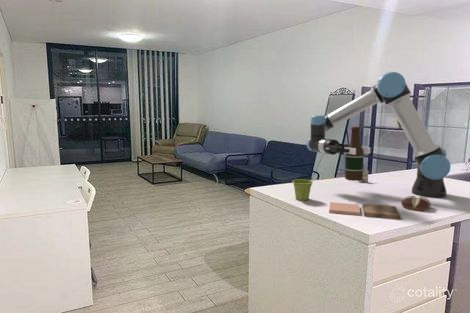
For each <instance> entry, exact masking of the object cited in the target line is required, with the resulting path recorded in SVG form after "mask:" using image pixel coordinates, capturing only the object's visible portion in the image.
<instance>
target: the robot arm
mask: <svg viewBox="0 0 470 313" xmlns="http://www.w3.org/2000/svg"><path fill="white" fill-rule="evenodd" d="M411 95H412V92H411V90H410V88H409V86H408V84H407V82H406V79H405V77H404V76H403V75H402V74H401V73H399V72H396V71H389V72H386V73H384V74H383V75H381V76H380V77H379V79H378V80H377V83H376V84H375V85H373V86H372V87H371V88H370V90H369V91H367V92H366V93H363V94H362V95H360V96H358V97H357V98H355V99H353V100H351V101H349V102H348V103H346V104H344V105H342V106H341V107H340V108H337V109H336V110H334V111H332V112H331V113H329V114H327V115H324V114H323V115H322V114H321V115H312V116H311V117H310V137H309V138H308V139H307V141H306V148H307V149H308V150H309V151H311V152H314V153H319V154H320V153H322V154H324V155H332V156H334V155H337V154H340V155H345V154H346V153H347V154H353V155H356V148H349V145H350V144H346V143H340V142H339V140H338V139H331V138H326V132H328V131H330V129H333V128H335V127H336V126H338V125H340V124H342V123H344V122H346V121H347V120H349V119H351V118H353V117H354V116H356V115H358V114H360V113H362V112H365V110H367V109H369V108H371V107H372V106H373V107H374V106H375V105H377V104H382V103H384V104H385V105H386V107H389V108H391V109H392V112H393V113H394V115H395V117H396V118H397V120H398V122H399V124H400V127H401V128H402V130H403V132H404V134H405V136H406V138H407V140H408V142H409V143H410V144H411V147H412V149H413V151H414V154H413V158H414V160H415V162H416V164H417V169H416V178H415V180H414V182H413V184H412V188H411V193H413V195H414V194H415V195H418V196H420V197H421V196H422V197H426V198H427V197H428V198H444V197H447V188H446V185H445V181H444V178H445V177H447V175H449V173H450V171H451V162H450V159H448V158H447V157H446V156H447V152H446V150H445V149H443V148H442V147H441V146H440V145H439V144H435V142H434V141H433V139H432V137H431V135H430V134H429V131H428V129H427V128H426V126H425V123H424V122H423V120H422V118H421V116H420V114H419V112H418V111H417V109H416V107H415V106H414V103H413V102H412V100H411ZM360 146H361V147H362V149H363V153H364V154H369V155H370V154H371V147H369V146H364V145H362V144H360Z"/></svg>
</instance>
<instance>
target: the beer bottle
mask: <svg viewBox="0 0 470 313" xmlns="http://www.w3.org/2000/svg"><path fill="white" fill-rule="evenodd" d="M350 130H351V131H350V132H351V133H350V143H349V144H348V145H349V148H356V155H353V154H347V153H345V154H344V155H345V157H344V158H345V161H344V162H345V163H344V179H345V180H347V181H351V182H355V181H356V182H361V181H360V180H362V179H363V170H364V155H365V153H363V149H362V147H361V146H362V145H361V143H360V142H361V141H360V130H361V128H360V126H352V127H351V128H350ZM360 145H361V146H360Z"/></svg>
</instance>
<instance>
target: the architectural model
mask: <svg viewBox="0 0 470 313" xmlns="http://www.w3.org/2000/svg"><path fill="white" fill-rule="evenodd" d="M359 182H362V183H366V184H368V183H369V170H367V169H366V170H365V169H363V179H362V180H360V181H359Z"/></svg>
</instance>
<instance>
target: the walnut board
mask: <svg viewBox="0 0 470 313" xmlns="http://www.w3.org/2000/svg"><path fill="white" fill-rule="evenodd" d="M361 208H362V212H363V216H364V217H370V218H381V219H393V220H401V214H400V212H399V211H398V209H397V207H396V205H395V206H393V205H381V204H373V203H372V204H370V203H362V206H361Z"/></svg>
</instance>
